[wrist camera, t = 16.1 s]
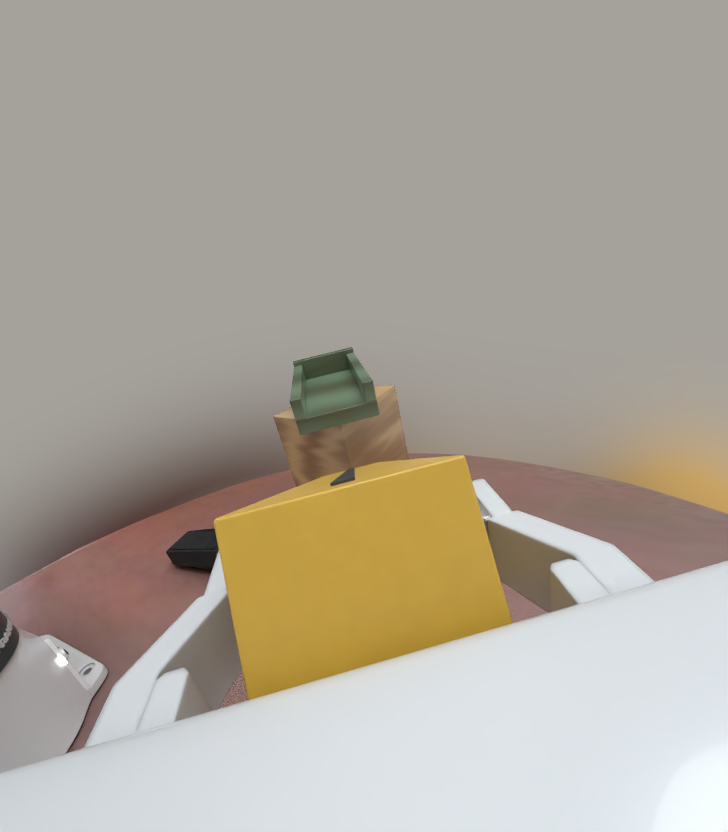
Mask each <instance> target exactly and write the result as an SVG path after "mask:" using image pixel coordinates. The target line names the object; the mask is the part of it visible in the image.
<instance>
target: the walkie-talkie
mask: <svg viewBox="0 0 728 832" xmlns="http://www.w3.org/2000/svg"><path fill="white" fill-rule="evenodd" d="M218 551H219V548H218V543H217V537H216V532H215V529H204V530H196V531H188V532H187V533H186V534H185V535H183V536H182V537H181V538H180V539H179V540H178V541H177V542H176V543H175V544H174V545H173V546H172V547H170V548H169V549H168V550H167V551H166V553H167V555H168V556H169V558H170V559H171V561H172V563H173V564H174V565H180V566H190V567H196V568H202V569H209V570H212V569H213V566H214V563H215V560H216V557H217V554H218Z"/></svg>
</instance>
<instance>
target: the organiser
mask: <svg viewBox="0 0 728 832" xmlns="http://www.w3.org/2000/svg"><path fill="white" fill-rule="evenodd" d="M293 364H294V375H293V381H292V389H291V396H290V404H291V407H289V408H288V409H286V410H284V411H282V412H281V413H279V414H277V415H275V416H274V420H275V423H276V426H277V429H278V432H279V435H280V438H281V441H282V444H283V447H284V450H285V453H286V456H287V459H288V462H289V465H290V468H291V471H292V474H293V477H294V480H295V483H296V485H297V487H298V486H300V485H303V484H305V483H308V482H310V481H313V480H315V479H318V478H321V477H323V476H326V475H330V474H334V473H338V472H342V471H346V470H348V469H351V468H358V467H362V466H366V465H369V464H373V463H377V462H386V461H398V460H409V458H408V453H407V447H406V442H405V437H404V432H403V427H402V421H401V416H400V411H399V406H398V400H397V396H396V390H395V386H392V385H373V381H372V379H371V377H370V376H369V375H368V373H367V372H366V370H365V369H364V367H363V366H362V364H361V363H360V361H359V360H358V358H357V357H356V355H355V354H354V352H353V348H352V347H350V348H346V349H342V350H338V351H334V352H330V353H326V354H322V355H318V356H314V357H310V358H306V359H302V360H298V361H294V362H293Z"/></svg>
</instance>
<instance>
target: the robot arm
mask: <svg viewBox="0 0 728 832" xmlns="http://www.w3.org/2000/svg"><path fill="white" fill-rule="evenodd" d="M472 483H473V486H474V490H475V493H476V497H477V500H478V504H479V507H480V511H481V514H482V518H483V521H484V524H485V528H486V531H487V535H488V538H489V542H490V545H491V549H492V552H493V556H494V559H495V563H496V566H497V570H498V573H499V577H500V580H501V581H502V582H503V583H505V584H506V585H508V586H509V587H511V588H512V589H514V590H515V591H517V592H518V593H520V594H521V595H523V596H524V597H526V598H527V599H529V600H530V601H532V602H533V603H535V604H536V605H538V606H539V607H541V608H542V609H544V610H545V611H547V612H548V613H546V614H543V615H539V616H536V617H532V618H529V619H526V620H522V621H519V622H515V623H512V624H508V625H505V626H501V627H498V628H495V629H491V630H488V631H484V632H481V633H477V634H474V635H470V636H467V637H464V638H460V639H457V640H453V641H450V642H446V643H443V644H439V645H436V646H433V647H429V648H426V649H422V650H419V651H415V652H412V653H409V654H405V655H402V656H398V657H395V658H391V659H388V660H384V661H381V662H378V663H374V664H371V665H367V666H364V667H360V668H357V669H354V670H350V671H347V672H343V673H340V674H336V675H333V676H330V677H326V678H323V679H319V680H316V681H312V682H309V683H306V684H302V685H299V686H295V687H292V688H288V689H285V690H282V691H278V692H275V693H271V694H268V695H264V696H261V697H258V698H254V699H251V700H247V701H244V702H240V703H237V704H233V705H230V706H227V707H223V708H220V709H219V707H220V705H221V703H222V702H223V700H224V698H225V697H226V695H227V693H228V691H229V690H230V688H231V686H232V684H233V683H234V681H235V679H236V678H237V676H238V674H239V672H240V671H241V669H242V666H241V661H240V656H239V651H238V646H237V640H236V635H235V630H234V625H233V620H232V615H231V610H230V604H229V599H228V594H227V589H226V584H225V579H224V574H223V568H222V563H221V558H220V553H219V551H218V554H217V557H216V560H215V563H214V566H213V569H212V572H211V575H210V578H209V581H208V584H207V588H206V591H205V594H204V596H201V597H198V598H197V599H196V600H195V601H194V602H193V603H192V604H191V605H190V606H189V607H188V608H187V610H186V611H185V612H184V613H183V614H182V615H181V616H180V617H179V618H178V619H177V620H176V621H175V622H174V623H173V624H172V625H171V626H170V627H169V628H168V629H167V630H166V631H165V632H164V633H163V634H162V636H161V637H160V638H159V639H158V640H157V641H156V642H155V643H154V644H153V645H152V646H151V647H150V648H149V649H148V650H147V651H146V652H145V653H144V654H143V655H142V656H141V657H140V658H139V659H138V660H137V662H136V663H135V664H134V665H133V666H132V667H131V668H130V669H129V670H128V671H127V672H126V673H125V674H124V675H123V676H122V677H121V678H120V679H119V680H118V681H117V682H116V683H115V684H114V686H113V688H112V690H111V692H110V694H109V696H108V698H107V700H106V702H105V705H104V707H103V709H102V711H101V713H100V715H99V717H98V719H97V721H96V724H95V726H94V728H93V730H92V732H91V734H90V736H89V738H88V740H87V743H86V745H85V747H84V748H82V749H79V750H76V751H72V752H69V753H66V752H67V750H68V749H69V747H70V746H71V744H72V742H73V741H74V739H75V737H76V735H77V733H78V731H79V729H80V727H81V725H82V723H83V720H84V718H85V715H86V712H87V709H88V706H89V704H90V702H91V700H92V698H93V696H94V695H95V693H96V692H97V690H98V689H99V688H100V686H101V685H102V683H103V681H104V680H105V678H106V676H107V674H108V669H107V668H106V667H105V666H104V665H103V664H102V663H100V662H98V661H96V660H95V659H93V658H91V657H89V656H87V655H86V654H84V653H82V652H80V651H78V650H77V649H75V648H73V647H71V646H69V645H68V644H66V643H64V642H62V641H60V640H59V639H57V638H55V637H53V636H51V635H49V634H46V635H43V636H40V637H38V636H36V635H34V634H31V633H29V632H27V631H25V630H22V629H20V628H17V627H15V626H14V625H13V624H12V621H11V619H10V618H9V617H8V616H7V615H6V614H5V613H4V612H2V611H0V832H728V561H725V562H721V563H718V564H714V565H711V566H707V567H704V568H701V569H697V570H694V571H690V572H687V573H683V574H680V575H677V576H673V577H670V578H666V579H663V580H659V581H656V582H655V581H653V580H652V579H651V578H650V577H649V576H648V575H647V574H646V573H644V572H643V571H642V570H641V569H640V568H639V567H638V566H637V565H635V564H634V563H633V562H632V561H631V560H630V559H629V558H628V557H626V556H625V555H624V554H623V553H622V552H621V551H620V550H619V549H617V548H616V547H615V546H614V545H612V544H609V543H607V542H604V541H601V540H598V539H596V538H593V537H590V536H587V535H584V534H582V533H579V532H576V531H573V530H571V529H568V528H565V527H562V526H559V525H557V524H554V523H551V522H548V521H546V520H543V519H540V518H537V517H534V516H532V515H529V514H526V513H523V512H521V511H514V512H512V510H511V509H510V508H509V507H508V506H507V505H506V504H505V503H504V501H503V500H502V499H501V498H500V497H499V496H498V495H497V493H496V492H495V491H494V490H493V489H492V488H491V487H490V485H489V484H488V483H487V482H486V481H485V480H484V479H478V480H475V481H472Z"/></svg>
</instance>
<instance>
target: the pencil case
mask: <svg viewBox="0 0 728 832" xmlns="http://www.w3.org/2000/svg"><path fill="white" fill-rule="evenodd" d="M214 527H215V532H216V537H217V543H218V548H219V553H220V558H221V563H222V568H223V574H224V579H225V584H226V589H227V594H228V599H229V604H230V610H231V615H232V620H233V625H234V630H235V635H236V640H237V646H238V651H239V656H240V661H241V666H242V671H243V677H244V682H245V687H246V692H247V697H248V700H251V699H254V698H258V697H261V696H264V695H268V694H271V693H275V692H278V691H282V690H285V689H288V688H292V687H295V686H299V685H302V684H306V683H309V682H312V681H316V680H319V679H323V678H326V677H330V676H333V675H336V674H340V673H343V672H347V671H350V670H354V669H357V668H360V667H364V666H367V665H371V664H374V663H378V662H381V661H384V660H388V659H391V658H395V657H398V656H402V655H405V654H409V653H412V652H415V651H419V650H422V649H426V648H429V647H433V646H436V645H439V644H443V643H446V642H450V641H453V640H457V639H460V638H464V637H467V636H470V635H474V634H477V633H481V632H484V631H488V630H491V629H495V628H498V627H501V626H505V625H508V624H512V623H513V622H512V619H511V615H510V612H509V608H508V605H507V601H506V598H505V594H504V591H503V587H502V584H501V580H500V577H499V573H498V570H497V566H496V563H495V559H494V556H493V552H492V549H491V545H490V542H489V538H488V535H487V531H486V528H485V524H484V521H483V518H482V514H481V511H480V507H479V504H478V500H477V497H476V493H475V490H474V486H473V483H472V479H471V476H470V472H469V469H468V465H467V462H466V458H465V457H464V456H463V455H457V456H446V457H434V458H422V459H410V460H398V461H386V462H377V463H373V464H369V465H366V466H362V467H358V468H351V469H348V470H346V471H342V472H338V473H334V474H330V475H326V476H323V477H321V478H318V479H315V480H313V481H310V482H308V483H305V484H303V485H300V486H298V487H295V488H293V489H290V490H287V491H285V492H282V493H280V494H277V495H275V496H272V497H270V498H267V499H264V500H262V501H259V502H257V503H254V504H252V505H249V506H247V507H244V508H242V509H239V510H236V511H234V512H231V513H229V514H226V515H224V516H221V517H219V518H216V519H215V520H214Z"/></svg>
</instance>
